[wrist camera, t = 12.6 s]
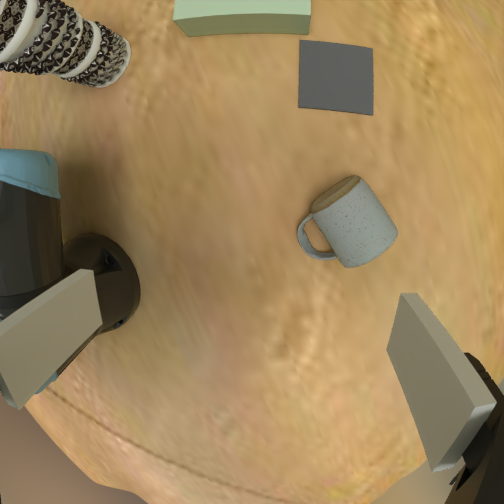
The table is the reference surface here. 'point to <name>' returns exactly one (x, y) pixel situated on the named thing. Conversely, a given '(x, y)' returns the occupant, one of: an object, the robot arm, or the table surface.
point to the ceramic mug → (350, 224)
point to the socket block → (242, 16)
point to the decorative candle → (59, 43)
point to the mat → (336, 77)
